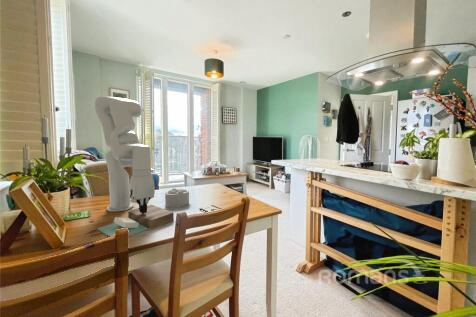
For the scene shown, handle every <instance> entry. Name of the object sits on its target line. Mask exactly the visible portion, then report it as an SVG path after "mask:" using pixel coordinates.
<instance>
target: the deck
mask: <svg viewBox="0 0 476 317" xmlns="http://www.w3.org/2000/svg"><path fill="white" fill-rule="evenodd" d="M127 214H128V215H127V216H128V217H127V218H129V219H132V220H134V221H136V222H138V223H139V224H141V225H143V226H145V227H147V228H148V229H147V230H153V229H155V228H158V227H161V226H163V225H165V224H169V223H171V222H174V215H175V214H174V212H173V211H170V210H167V209H166V208H162V207H159V206H157V205H154V204H147V213H144V214H143V213H140V211H139V207H138V208H134V209H133V208H132V209H129V210H127Z"/></svg>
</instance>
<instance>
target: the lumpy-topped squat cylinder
mask: <svg viewBox="0 0 476 317" xmlns="http://www.w3.org/2000/svg"><path fill="white" fill-rule="evenodd" d="M164 198H165V200H164V201H165V207H166V208H178V207H179V206H180V207H183V205H184V206H186V205H189V204H190V191H189V190H187V189H185V188H183V187H180V188H175V187H172V188H171V189H169V190H168V191H166V192H165V196H164ZM180 207H179V208H180Z"/></svg>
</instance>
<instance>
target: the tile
mask: <svg viewBox="0 0 476 317" xmlns="http://www.w3.org/2000/svg"><path fill="white" fill-rule="evenodd" d="M113 223H116V224H118V225H120V226H122V227H124V228H138V225H139V223H138V222H136V221H134V220H132V219H129V218H128V217H117V216H115V217H114V219H113Z"/></svg>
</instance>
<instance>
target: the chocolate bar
mask: <svg viewBox="0 0 476 317" xmlns="http://www.w3.org/2000/svg"><path fill="white" fill-rule="evenodd" d="M199 209H200V210H199V211H201V210H203V211H205V212H204V213H206V212H208V211H214V210H218V209H222V208H221V207H218V206H216V205H213V204H211V205H209V206H204V207H200V208H199ZM203 211H202V212H203Z"/></svg>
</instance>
